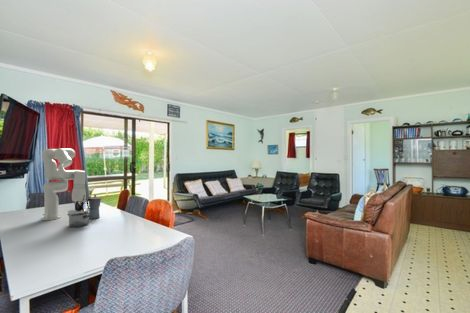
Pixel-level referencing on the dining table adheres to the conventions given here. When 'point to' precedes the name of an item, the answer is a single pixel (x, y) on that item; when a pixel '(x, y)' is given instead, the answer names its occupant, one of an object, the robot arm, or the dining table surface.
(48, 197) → the robot arm
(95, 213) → the moka pot
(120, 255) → the dining table surface
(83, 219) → the cooker pot
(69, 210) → the lid
